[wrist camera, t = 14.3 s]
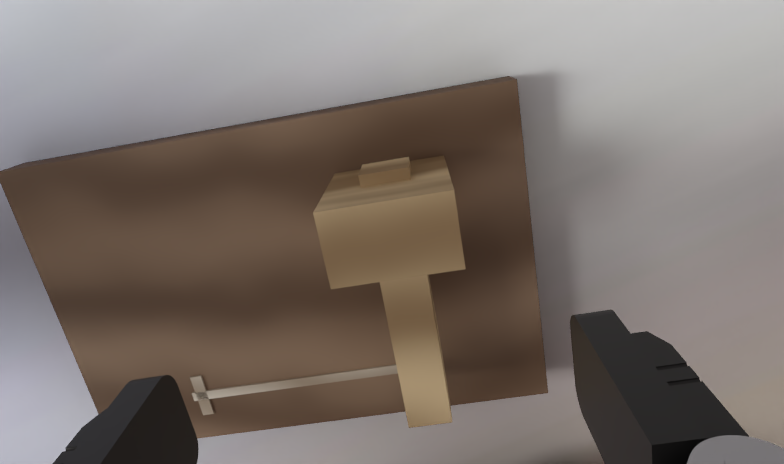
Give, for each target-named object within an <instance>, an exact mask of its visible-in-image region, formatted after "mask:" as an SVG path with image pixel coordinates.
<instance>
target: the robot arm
mask: <svg viewBox="0 0 784 464" xmlns="http://www.w3.org/2000/svg"><path fill="white" fill-rule="evenodd" d="M570 327H571V340H572V351H573V363H574V375H575V385H576V392H577V397H578V401H579V405H580V408H581V411H582V414H583V417H584V419H585V421H586V424H587V426H588V428H589V430H590V432H591V434H592V436H593V439H594V441H595V443H596V445H597V447H598V449H599V452H600V454H601V456H602V458H603V460H604V462H605V464H784V449H783V448H781V447H779V446H777V445H775V444H772V443H770V442H767V441H764V440H761V439H757V438H752V437H749V436H748V434H747V433H746V432H745V431H744V430H743V429H742V427H741V426H740V425H739V424H738V423H737V422H736V420H735V419H734V418H733V417H732V416H731V414H730V413H729V412H728V411H727V410H726V409H725V407H724V406H723V405H722V404H721V403H720V402H719V400H718V399H717V398H716V397H715V396H714V394H713V393H712V392H711V391H710V390H709V389H708V387H707V386H706V385H705V384H704V383H703V382H700V380H699V377H698V376H697V374H696V373H695V372H694V371H693V370H692V369H691V367H690V366H687V364H686V361H685V360H684V359H683V358H682V357H681V356H680V354H679V353H678V352H677V351H676V350H675V349H674V347H673V346H672V345H671V344H669V343H667V342H665V341H664V340H662V339H660V338H658V337H656V336H654V335H653V334H651V333H649V332H647V331H646V332H639V333H632V334H630V332H629V331H628V330H627V328H626V327H625V326H624V324H623V323H622V322H621V320H620V319H619V318H618V316H617V315H616V314H615V312H614V311H613V310H605V311H599V312H592V313H585V314H579V315H572V316H571V321H570ZM197 459H198V440H197V436H196V433H195V430H194V428H193V425H192V422H191V419H190V417H189V414H188V411H187V409H186V406H185V403H184V401H183V398H182V395H181V393H180V390H179V387H178V385H177V382H176V381H175V379H174V378H173V377H172V376H170V375H162V376H156V377H149V378H142V379H135V380H131V381H129V382H128V383H127V384H126V385H125V387H124V388H123V389H122V390H121V392H120V393H119V394H118V395H117V397H116V398H115V399H114V401H113V402H112V403H111V404H110V406H109V407H108V408H107V409H105V410H104V411H103V412H101V413H100V414H99V415H98V416H96V417H95V418H94V419H92V420H91V421H90V422H89V423H87V424H86V425H85V426H84V427H82V428H81V430H80V431H79V432H78V433H77V435H76V436H75V437H74V438H73V440H72V441H71V442H70V443H69V444H68V446H67V447H66V451H65V452H62V453H61V454H60V455H59V457H58V458H57V459H56V460H55V462H54V463H53V464H197Z"/></svg>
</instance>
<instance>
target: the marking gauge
mask: <svg viewBox="0 0 784 464" xmlns="http://www.w3.org/2000/svg"><path fill="white" fill-rule="evenodd" d="M313 215H314V219H315V224H316V228H317V232H318V236H319V241H320V245H321V249H322V254H323V258H324V262H325V266H326V271H327V275H328V279H329V283H330V288H331V289H337V288H343V287H350V286H357V285H363V284H370V283H377V282H380V286H381V291H382V296H383V301H384V306H385V311H386V316H387V321H388V326H389V331H390V336H391V341H392V346H393V351H394V356H395V361H396V366H397V371H398V376H399V381H400V386H401V391H402V396H403V401H404V406H405V411H406V416H407V421H408V426H409V428H411V427H419V426H427V425H435V424H443V423H451V422H452V415H451V406H450V397H449V391H448V385H447V379H446V373H445V367H444V361H443V355H442V350H441V344H440V338H439V332H438V326H437V320H436V314H435V308H434V302H433V296H432V290H431V284H430V279H429V275H430V274H437V273H443V272H450V271H457V270H463V269H466V268H465V261H464V254H463V247H462V241H461V234H460V227H459V220H458V213H457V206H456V199H455V192H454V188H453V184H452V181H451V178H450V174H449V171H448V167H447V164H446V161H445V157H444V155H443V156H437V157H431V158H425V159H419V160H413V161H410V160H409V157H404V158H399V159H393V160H387V161H381V162H375V163H369V164H363V165H362V167H361V169H360V170H354V171H348V172H342V173H336V174H334V176H333V178H332V180H331V181H330V183H329V185H328V187H327V189H326V190H325V192H324V194H323V196H322V198H321V199H320V201H319V203H318V205H317V207H316V208H315V210H314V212H313Z"/></svg>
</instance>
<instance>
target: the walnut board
mask: <svg viewBox="0 0 784 464" xmlns="http://www.w3.org/2000/svg"><path fill="white" fill-rule="evenodd" d="M443 155H444V157H445V161H446V164H447V167H448V171H449V174H450V178H451V181H452V184H453V188H454V192H455V199H456V206H457V213H458V220H459V227H460V234H461V241H462V247H463V254H464V261H465V268H466V269H463V270H457V271H450V272H443V273H437V274H430V275H429V279H430V284H431V290H432V296H433V302H434V308H435V314H436V320H437V326H438V332H439V338H440V344H441V350H442V355H443V361H444V367H445V373H446V379H447V385H448V391H449V397H450V406H451V405H458V404H466V403H474V402H481V401H489V400H497V399H505V398H512V397H520V396H528V395H535V394H543V393H548V388H547V378H546V368H545V358H544V348H543V338H542V328H541V318H540V307H539V297H538V287H537V277H536V267H535V257H534V247H533V237H532V227H531V217H530V207H529V197H528V187H527V177H526V167H525V156H524V146H523V136H522V126H521V116H520V106H519V96H518V86H517V79H514V78H512V77H510V76H507V77H501V78H496V79H490V80H484V81H479V82H473V83H468V84H462V85H457V86H451V87H445V88H440V89H434V90H429V91H423V92H418V93H412V94H406V95H401V96H395V97H390V98H384V99H379V100H373V101H367V102H362V103H356V104H351V105H345V106H340V107H334V108H328V109H323V110H317V111H312V112H306V113H300V114H295V115H289V116H284V117H278V118H273V119H267V120H261V121H256V122H250V123H245V124H239V125H234V126H228V127H222V128H217V129H211V130H206V131H200V132H195V133H189V134H183V135H178V136H172V137H167V138H161V139H156V140H150V141H144V142H139V143H133V144H128V145H122V146H116V147H111V148H105V149H100V150H94V151H89V152H83V153H77V154H72V155H66V156H61V157H55V158H50V159H44V160H38V161H33V162H27V163H23V164H20V165H17V166H14V167H11V168H8V169H5V170H2V171H0V183H1V185H2V188H3V190H4V192H5V195H6V197H7V199H8V202H9V204H10V207H11V209H12V211H13V214H14V216H15V218H16V221H17V223H18V225H19V228H20V230H21V232H22V235H23V237H24V239H25V242H26V244H27V246H28V249H29V251H30V253H31V256H32V258H33V261H34V263H35V265H36V268H37V270H38V272H39V275H40V277H41V279H42V282H43V284H44V286H45V289H46V291H47V293H48V296H49V298H50V300H51V303H52V305H53V308H54V310H55V312H56V315H57V317H58V319H59V322H60V324H61V326H62V329H63V331H64V333H65V336H66V338H67V340H68V343H69V345H70V347H71V350H72V352H73V354H74V357H75V359H76V362H77V364H78V366H79V369H80V371H81V373H82V376H83V378H84V380H85V383H86V385H87V387H88V390H89V392H90V394H91V397H92V399H93V401H94V404H95V406H96V408H97V411H98V413H99V414H100V413H101V412H103V411H104V410H105V409H107V408H108V407H109V406H110V404H111V403H112V402H113V401H114V399H115V398H116V397H117V395H118V394H119V393H120V392H121V390H122V389H123V388H124V387H125V385H126V384H127V383H128V382H129V381H131V380H135V379H142V378H149V377H156V376H162V375H170V376H172V377H173V378H174V379H175V381H176V382H177V385H178V387H179V390H180V393H181V395H182V398H183V401H184V403H185V406H186V409H187V411H188V414H189V417H190V419H191V422H192V425H193V428H194V430H195V433H196V436H197V438H204V437H212V436H219V435H227V434H235V433H242V432H250V431H258V430H265V429H273V428H281V427H289V426H296V425H304V424H312V423H319V422H327V421H335V420H343V419H350V418H358V417H366V416H373V415H381V414H389V413H397V412H404V411H405V406H404V401H403V396H402V391H401V386H400V381H399V376H398V371H397V366H396V361H395V356H394V351H393V346H392V341H391V336H390V331H389V326H388V321H387V316H386V311H385V306H384V301H383V296H382V291H381V286H380V282H377V283H370V284H363V285H357V286H350V287H343V288H337V289H331V288H330V283H329V279H328V275H327V271H326V266H325V262H324V258H323V254H322V249H321V245H320V241H319V236H318V232H317V228H316V224H315V219H314V215H313V212H314V210H315V208H316V207H317V205H318V203H319V201H320V199H321V198H322V196H323V194H324V192H325V190H326V189H327V187H328V185H329V183H330V181H331V180H332V178H333V176H334V174H336V173H342V172H348V171H354V170H360V169H361V167H362V165H363V164H369V163H375V162H381V161H387V160H393V159H399V158H404V157H409V160H410V161H413V160H419V159H425V158H431V157H437V156H443Z"/></svg>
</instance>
